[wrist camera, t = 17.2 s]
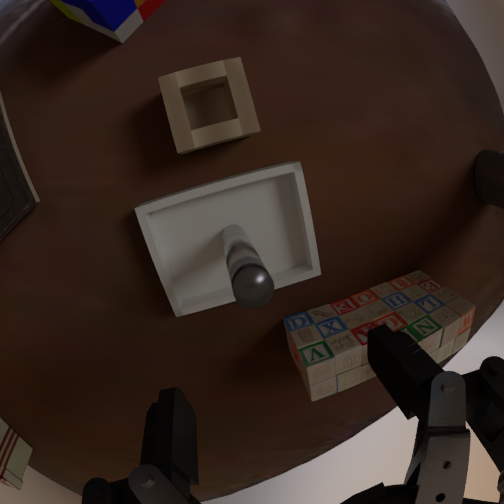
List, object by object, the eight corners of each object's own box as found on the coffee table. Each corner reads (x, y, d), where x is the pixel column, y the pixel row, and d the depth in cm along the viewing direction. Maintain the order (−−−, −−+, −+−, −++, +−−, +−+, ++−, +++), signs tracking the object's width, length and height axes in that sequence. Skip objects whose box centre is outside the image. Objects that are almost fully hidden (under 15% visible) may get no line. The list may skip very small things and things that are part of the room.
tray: (292, 161, 27) (300, 161, 25) (312, 265, 32) (321, 274, 29) (140, 204, 26) (134, 208, 24) (178, 305, 31) (176, 317, 28)
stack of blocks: (289, 353, 36) (319, 422, 24) (281, 317, 33) (315, 387, 22) (416, 303, 37) (467, 345, 26) (419, 268, 35) (477, 306, 24)
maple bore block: (234, 73, 24) (240, 56, 19) (250, 135, 26) (260, 131, 21) (166, 91, 23) (158, 77, 18) (182, 154, 26) (177, 153, 21)
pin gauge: (242, 221, 28) (269, 265, 17) (248, 245, 29) (278, 300, 18) (217, 228, 28) (228, 277, 17) (224, 252, 29) (239, 312, 18)
